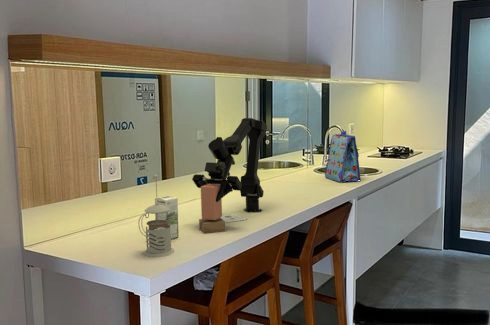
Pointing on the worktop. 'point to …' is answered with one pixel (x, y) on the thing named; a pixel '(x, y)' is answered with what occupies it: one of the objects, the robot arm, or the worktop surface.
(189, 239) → the worktop surface
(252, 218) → the worktop surface
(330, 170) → the lunch bag
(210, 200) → the tall brick
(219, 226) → the base brick
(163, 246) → the french press
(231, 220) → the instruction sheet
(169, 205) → the syrup box
